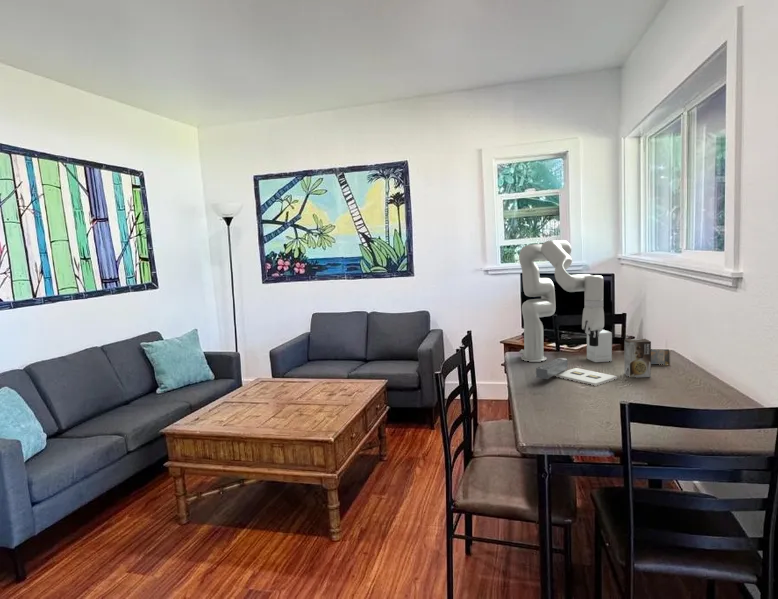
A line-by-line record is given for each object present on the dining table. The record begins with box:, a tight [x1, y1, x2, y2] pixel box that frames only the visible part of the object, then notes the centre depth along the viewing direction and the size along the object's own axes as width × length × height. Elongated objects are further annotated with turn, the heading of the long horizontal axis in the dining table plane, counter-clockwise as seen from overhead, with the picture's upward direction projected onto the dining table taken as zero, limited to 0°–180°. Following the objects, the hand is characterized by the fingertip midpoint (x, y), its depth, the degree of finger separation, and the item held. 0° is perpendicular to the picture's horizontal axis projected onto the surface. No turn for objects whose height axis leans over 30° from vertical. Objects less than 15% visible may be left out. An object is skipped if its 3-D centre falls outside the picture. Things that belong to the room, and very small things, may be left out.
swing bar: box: [535, 357, 568, 380], centre depth 213 cm, size 24×5×4 cm, turn 138°
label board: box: [554, 367, 618, 387], centre depth 212 cm, size 23×16×2 cm
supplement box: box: [586, 329, 613, 363], centre depth 240 cm, size 9×9×15 cm
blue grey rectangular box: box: [651, 348, 671, 366], centre depth 227 cm, size 11×3×10 cm, turn 74°
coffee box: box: [623, 338, 652, 378], centre depth 209 cm, size 9×6×16 cm
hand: (593, 345), depth 206 cm, fingers closed
